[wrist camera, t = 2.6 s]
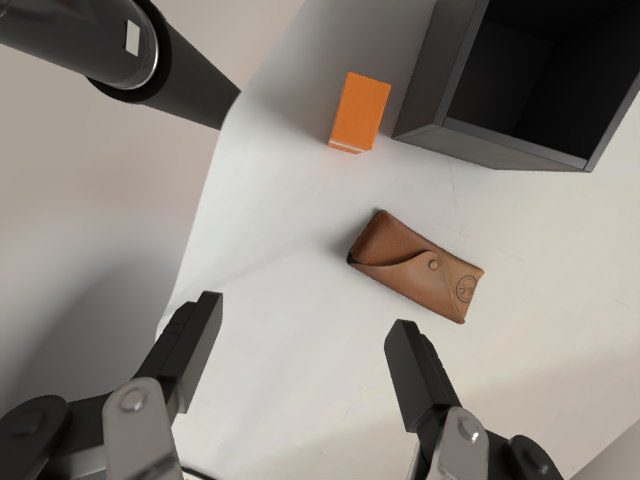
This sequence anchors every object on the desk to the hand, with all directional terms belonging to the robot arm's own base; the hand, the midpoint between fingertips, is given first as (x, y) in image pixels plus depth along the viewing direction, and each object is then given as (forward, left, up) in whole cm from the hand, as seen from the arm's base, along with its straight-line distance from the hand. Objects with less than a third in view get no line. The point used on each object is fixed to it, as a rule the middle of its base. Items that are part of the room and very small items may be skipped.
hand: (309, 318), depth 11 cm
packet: (+1, +11, -21) cm, 24 cm away
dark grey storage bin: (+13, +18, -21) cm, 31 cm away
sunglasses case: (+15, -3, -22) cm, 26 cm away
